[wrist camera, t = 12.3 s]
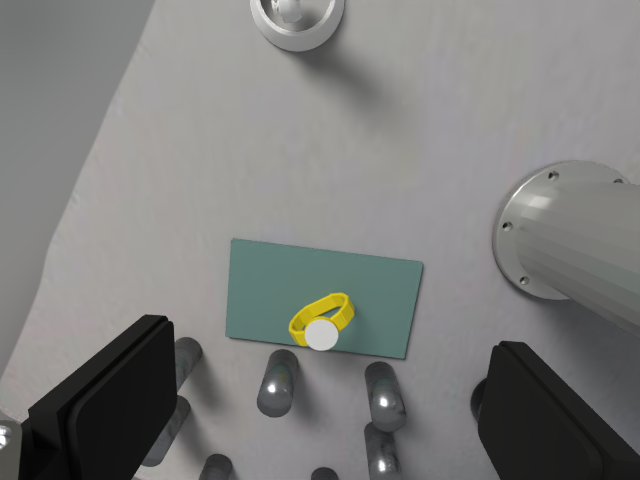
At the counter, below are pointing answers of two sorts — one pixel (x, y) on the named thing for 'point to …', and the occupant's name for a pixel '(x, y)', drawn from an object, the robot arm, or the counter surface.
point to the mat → (321, 294)
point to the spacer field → (278, 402)
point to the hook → (292, 14)
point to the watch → (321, 322)
